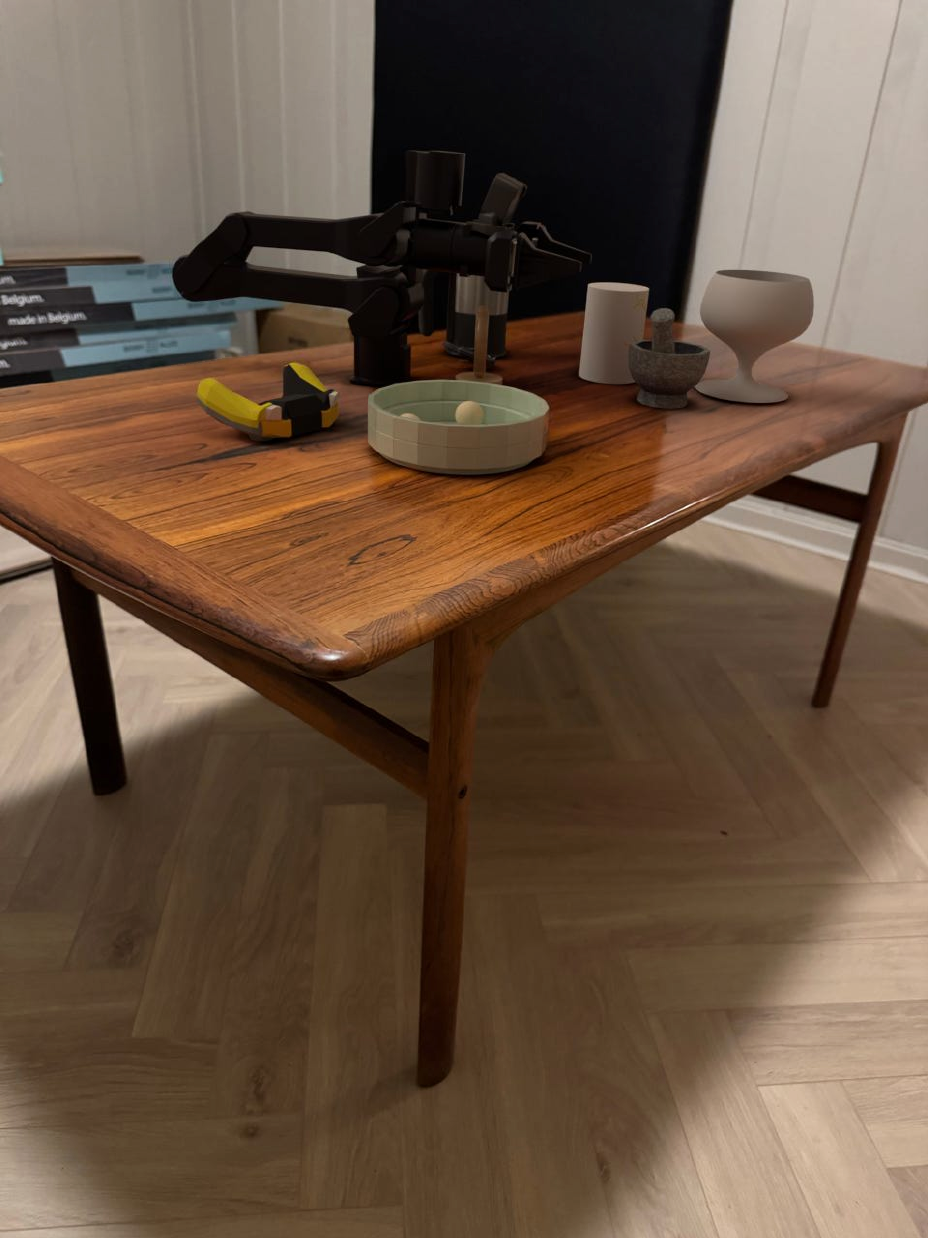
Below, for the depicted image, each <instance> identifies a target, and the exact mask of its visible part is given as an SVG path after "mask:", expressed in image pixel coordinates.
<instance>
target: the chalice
mask: <svg viewBox="0 0 928 1238" xmlns="http://www.w3.org/2000/svg"><path fill="white" fill-rule="evenodd" d="M814 299H815V298H814V291H813V287H812V282H811V280H810V278H808V277H806V276H802V275H798V274H791V273H786V272H778V271H768V270H757V269H755V270H754V269H721V270H717V271H716V272H715V273H714V274H713V275H712V277H711V278H710V280H709V282H708V284H707V286H706V288H705V291H704V293H703V296H702V299H701V303H700V307H699V315H700V316H699V317H700V320H701V322H702V324H703V326H704V327H705V329H706V330H707V331H708V332H710V333H711V334H712V335H714V336H715V337H716V338H718V339H719V340H720V341H722V342H723V343H724V344H725V345H726V346H727V347H728V348H730V349H731V350H732V352H733V353H734V354H735V357H736V359H737V364H738V367H737V370H736V373H735V374H734V375H733V376H732V377H731V378H714V379H706V380H700V381H699V382H698V384H697V385H695V386H694V388H695V390H697V391H698V392H699V393H702V394H703V395H706V396H709V397H713V398H716V399H720V400H725V401H730V402H736V403H737V402H739V403H748V404H769V403H778V402H782V401H785V400H787V399H788V397H789V395H788V394H787V392H786V391H785V390H783V389H782V388H780V387H777V386H774V385H770V384H767V383H764V382H758V381H756V380H755V378H754V377H753V367H754V365H755V363H756V362H757V361H758V359H759V358H760V357H762V356H763V355H765V354H766V353H767V352H769V351H771V350H774V349H775V348H777V347H780V346H782V345H784V344H787V343H789V342H791V341H794V340H796V339H797V338H799V337H801V336H802V335H803V334H804V333H805V332H806V331H807V330H808V328H809V327H810V326H811V323H812V320H813V317H814V308H815V307H814V306H815V304H814V303H815V300H814Z"/></svg>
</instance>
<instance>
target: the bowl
mask: <svg viewBox="0 0 928 1238" xmlns="http://www.w3.org/2000/svg"><path fill="white" fill-rule="evenodd" d="M466 401H473V402H476V403H477V404H479V405H480V407H481V408H482V410H483V421H482V423H481V424H480V425H466V424H458V423H457V421H456V410H457V408H458V407H459V405H460V404H462V403H463V402H466ZM407 413H409V414H413V415H416V416H417V417H418V418H419V419H420V420H421V421H420V420H416V419H411V418H407V417H402V416H401V415H403V414H407ZM549 419H550V406H549V404H548V403H547V401H546V399H544V398H542V397H540V396H538V395H537V394H535V393H533V392H530V391H527V390H523V389H521V388H517V387H513V386H508V385H503V384H502V385H498V384H492V383H483V382H474V381H461V380H456V379H431V380H429V379H427V380H414V381H407V382H406V381H405V382H403V383H398V384H393V385H390V386H382V387H380V388H377V389H376V390H374V391H373V392H371V393H369V394H368V398H367V444H368V445H369V446H370V447H372V449H373V450H374V451H375V452H377V453H379V454H380V455H381V457H383V458H384V459H386V460H388V461H389V462H391V463H394V464H396V465H399V466H401V467H405V468H408V469H413V470H417V471H423V472H429V473H434V474H443V475H444V474H445V475H460V476H463V475H465V476H468V475H469V476H470V475H472V476H473V475H490V474H499V473H504V472H509V471H514V470H517V469H520V468H523V467H525V466H527V465H529V464H531V463H533V461H534V460H535V459H537V458H539V457H542V455H543V453H544V452H545V450H546V448H547V441H548V428H549Z"/></svg>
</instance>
